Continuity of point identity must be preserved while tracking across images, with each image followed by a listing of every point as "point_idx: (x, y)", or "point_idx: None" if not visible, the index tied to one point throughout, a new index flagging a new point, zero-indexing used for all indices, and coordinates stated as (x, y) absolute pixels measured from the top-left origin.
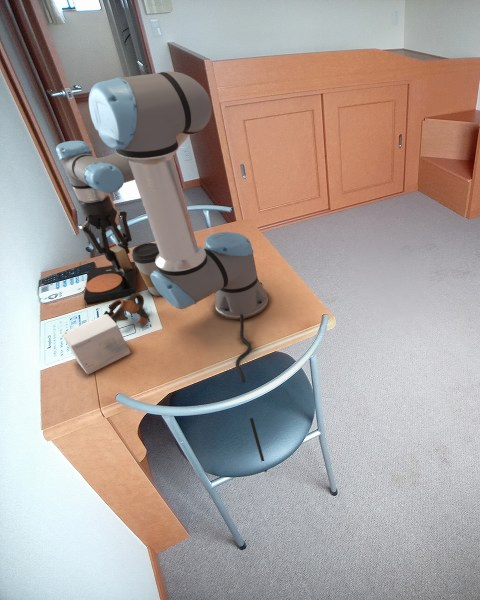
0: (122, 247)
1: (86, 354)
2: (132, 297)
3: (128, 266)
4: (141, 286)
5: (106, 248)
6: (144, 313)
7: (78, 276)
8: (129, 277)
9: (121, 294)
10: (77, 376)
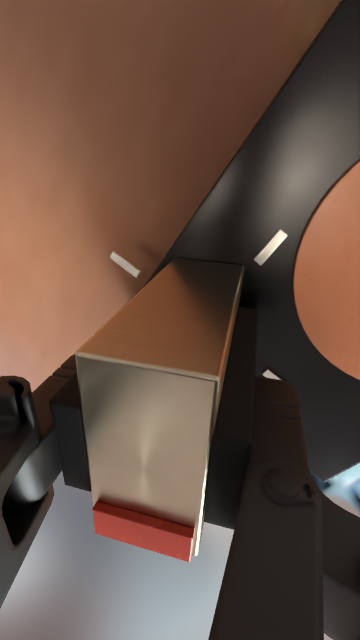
0: (76, 408)
1: None
2: None
3: (190, 269)
4: (264, 56)
5: (294, 559)
6: None
7: (351, 487)
8: (274, 164)
9: None
10: None
